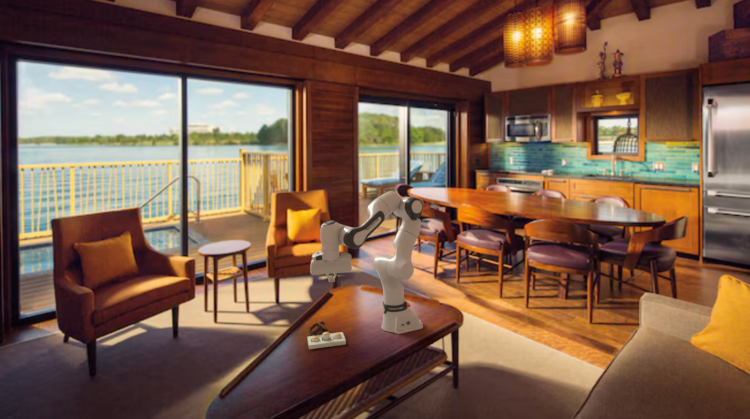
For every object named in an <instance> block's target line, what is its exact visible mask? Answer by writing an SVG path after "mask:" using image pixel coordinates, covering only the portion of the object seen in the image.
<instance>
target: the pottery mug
mask: <svg viewBox="0 0 750 419" xmlns="http://www.w3.org/2000/svg"><path fill="white" fill-rule="evenodd" d="M316 327H317V328H316ZM314 328H316V329H315V330H313V329H314ZM312 330H313V331H312ZM324 332H329V330H328V328H327V326H326V324H325V322H324V321H319V322H315V323H314V324H312V325H311V326H310V327H309V330H308V333H309V336H316V335H319V333H324Z"/></svg>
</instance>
